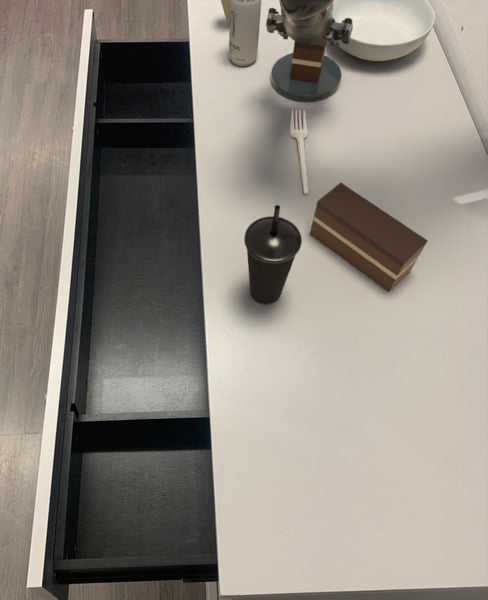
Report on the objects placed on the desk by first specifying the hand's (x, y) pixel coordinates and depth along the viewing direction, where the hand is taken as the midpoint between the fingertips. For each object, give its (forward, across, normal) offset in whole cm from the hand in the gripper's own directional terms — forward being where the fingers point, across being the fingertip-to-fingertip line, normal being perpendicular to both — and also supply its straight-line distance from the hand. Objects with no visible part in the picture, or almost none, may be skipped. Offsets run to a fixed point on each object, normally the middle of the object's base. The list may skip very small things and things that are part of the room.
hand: (310, 36), depth 96 cm
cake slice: (+10, 0, -5) cm, 11 cm away
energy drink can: (+14, -14, -3) cm, 20 cm away
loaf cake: (-17, +17, -34) cm, 42 cm away
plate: (+11, 0, -6) cm, 13 cm away
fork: (-4, +4, -21) cm, 21 cm away
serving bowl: (+22, +12, +5) cm, 25 cm away
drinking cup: (-25, +4, -42) cm, 49 cm away
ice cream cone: (+21, -20, +4) cm, 30 cm away
